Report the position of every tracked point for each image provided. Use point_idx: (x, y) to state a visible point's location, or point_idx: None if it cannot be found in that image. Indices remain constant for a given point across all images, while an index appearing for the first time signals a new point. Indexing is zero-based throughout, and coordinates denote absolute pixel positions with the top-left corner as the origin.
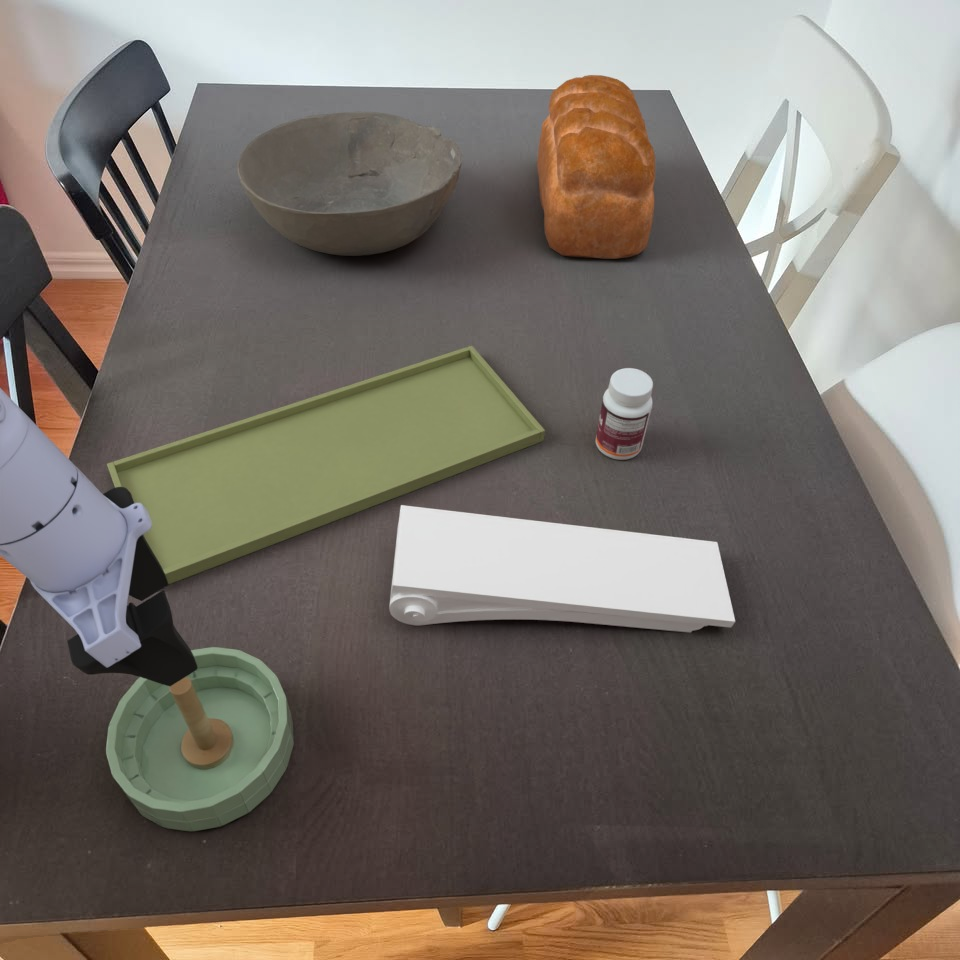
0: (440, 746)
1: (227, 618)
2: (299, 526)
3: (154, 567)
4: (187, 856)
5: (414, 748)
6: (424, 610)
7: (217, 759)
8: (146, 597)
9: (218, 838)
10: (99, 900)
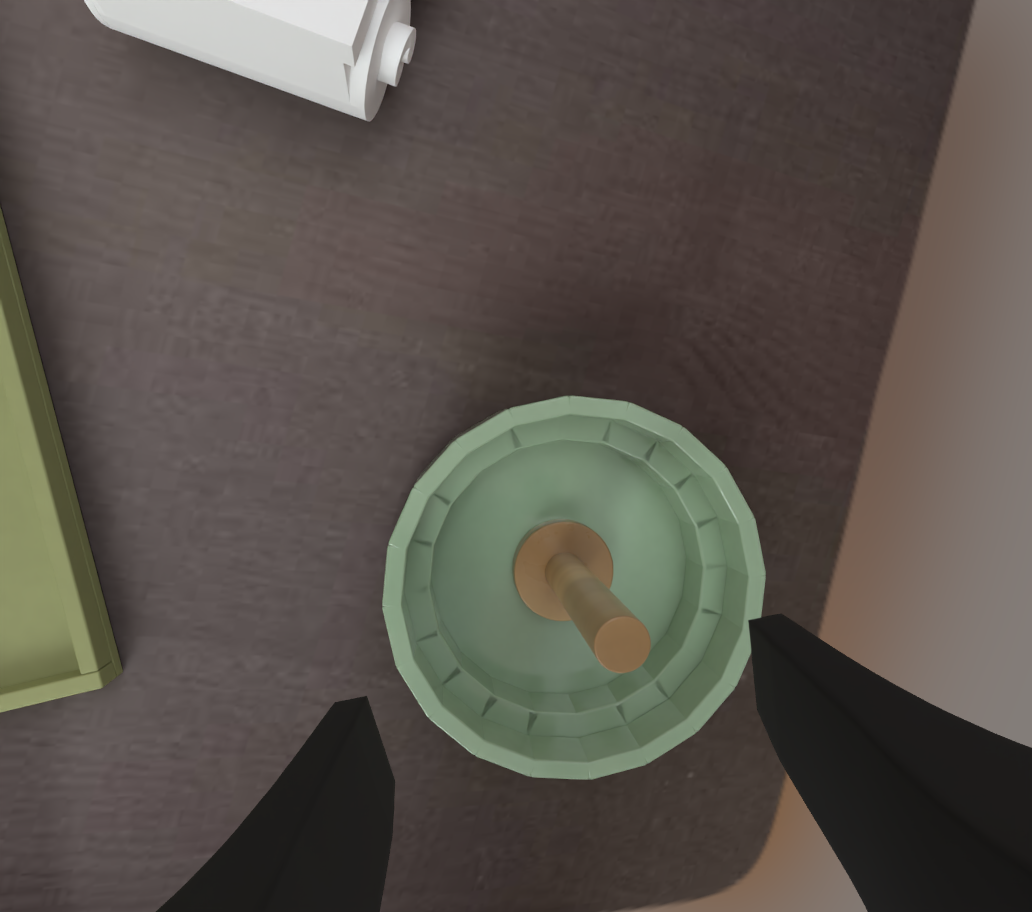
0: (681, 123)
1: (251, 507)
2: (5, 294)
3: (342, 772)
4: None
5: (670, 175)
6: (400, 22)
7: (608, 553)
8: (388, 767)
9: None
10: (774, 755)
